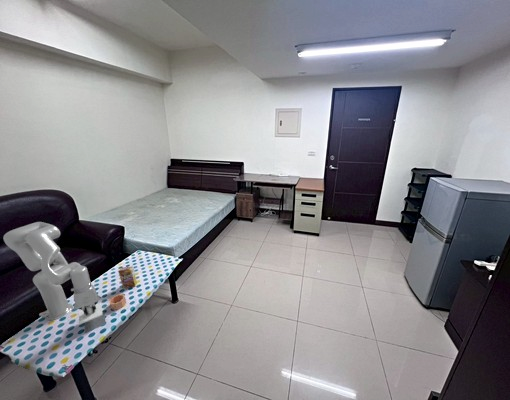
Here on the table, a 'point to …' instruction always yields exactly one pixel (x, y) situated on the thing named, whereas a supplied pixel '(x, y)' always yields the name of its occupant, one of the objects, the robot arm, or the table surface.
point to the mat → (95, 323)
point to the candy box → (127, 277)
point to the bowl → (117, 301)
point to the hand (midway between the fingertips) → (90, 311)
